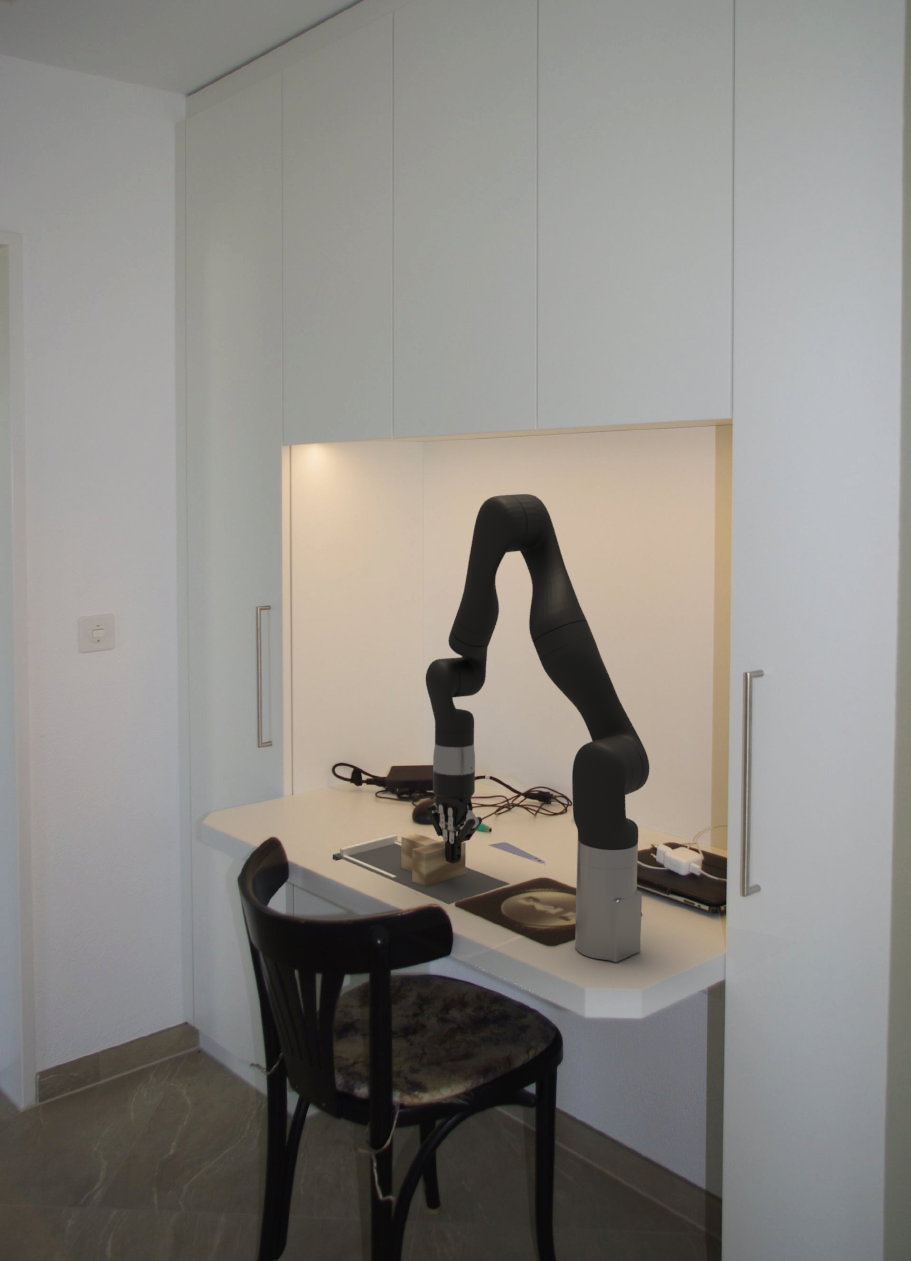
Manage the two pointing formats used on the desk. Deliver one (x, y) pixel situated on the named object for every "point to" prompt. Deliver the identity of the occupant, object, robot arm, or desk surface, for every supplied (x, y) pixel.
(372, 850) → the desk mat
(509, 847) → the lavender triangular plate
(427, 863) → the T block
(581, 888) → the robot arm
